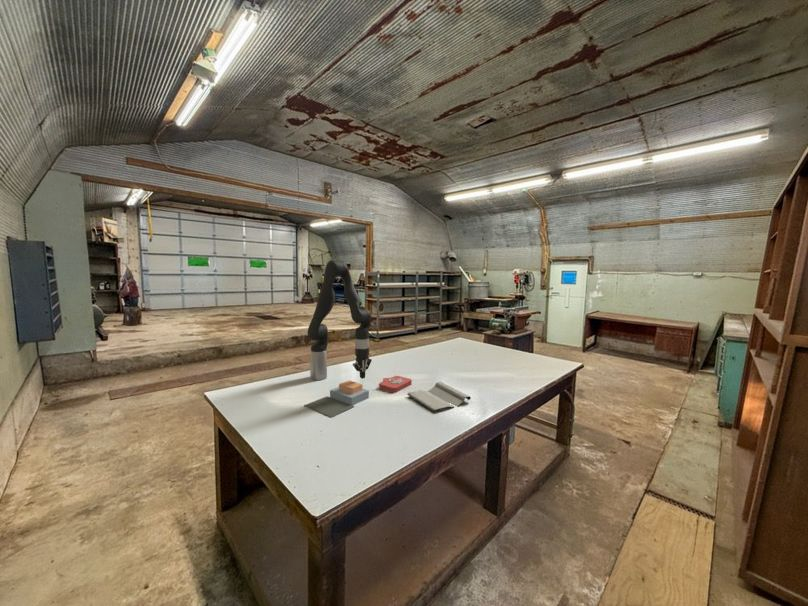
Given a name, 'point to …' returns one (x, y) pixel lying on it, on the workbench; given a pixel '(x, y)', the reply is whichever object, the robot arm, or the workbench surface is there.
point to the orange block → (350, 387)
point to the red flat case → (394, 384)
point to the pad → (329, 406)
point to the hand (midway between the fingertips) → (362, 378)
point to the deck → (349, 396)
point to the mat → (439, 397)
